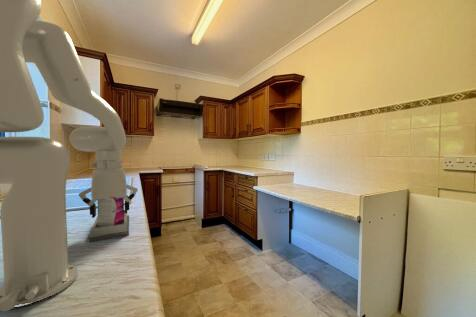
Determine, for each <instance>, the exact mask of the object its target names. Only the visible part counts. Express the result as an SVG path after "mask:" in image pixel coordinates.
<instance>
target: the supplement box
mask: <svg viewBox="0 0 476 317" xmlns="http://www.w3.org/2000/svg"><path fill="white" fill-rule="evenodd" d="M124 210H125V200H124V199H123V198H115V197H108V198H107V199H105V200H97V216H98V227H104V226H110V225H117V224H124Z"/></svg>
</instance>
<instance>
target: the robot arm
mask: <svg viewBox="0 0 476 317" xmlns="http://www.w3.org/2000/svg"><path fill="white" fill-rule="evenodd" d="M41 11H42V0H0V133H23V132H24V133H25V132H31V131H33V130H37V129H38V128H39V127H41V126H42V124H43V122H44V119H45V118H44V117H45V115H44V110H43V107H42V104H41V101H40V98H39V95H38V93H37V90H36V87H35V84H34V81H33V80H32V76H31V74H30V71H29V69H28V66H27V63H32V64H35V66H36V68H37V69H38V71H39V74H40V75H41V77H42V78H43V80H44V83H45V84H46V87H47V88H48V90H49V91H50V93H51V95H52V97H53V98H54V99H55V100H56V101H58V102H59V103H62V104H64V105H67V106H69V107H72V108H75V109H77V110H79V111H81V112H84V113H86V114H88V115H90V116H92V117H94V118H95V119H97V120H98V122H100V123H101V124H102V125H103V126H80V127H76V128H75V129H73V130H72V131H71V132H70V134H69V137H68V138H69V143H70V145H71V146H72V147H73V148H74V149H76V150H77V151H80V152H95V161H94V162H90V167H92V168H95V169H93V171H92V176H91V187H89V188H86V189H84V190H83V191H81V192H79V193H78V196H79V198H80V199H81V200H82V202H83V203H85V204H86V205H87V206H88V207H89V215H90V216H91V217H92V219H93V218H95V217H97V205H96V203H97V202H96V201H98V200H105V199H107V198H108V197H115V198H123V199H124V210H125V213H127V214H128V211H130V202H131V200H133V198H134V197H135V196H136V194H137V192H138V187H135V186H133V185H129V184H127V176H126V172H125V169H124V168H123V164H122V162H123V161H122V150H123V149H124V148H125V147H126V143H127V136H126V132H125V129H124V126H123V122H122V120H121V118H120V116H119V114H118V113H117V111H116V110H115V109H114V108H113V107H112V106H111V105H110V104H109V103H108V102H107V101H106V100H105V99H103V98H102V97H101V96H99V95H97V94H96V93H95V92H94V91H93V89H92V87H91V85H90V82H89V80H88V77H87V75H86V73H85V70H84V68H83V65H82V63H81V60H80V58H79V55H78V52H77V50H76V48H75V45H74V43H73V40H72V38H71V37H70V35H69V34H68V32H67V31H66V30H65V29H64V28H62V27H61V26H60V25H57V24H54V23H52V22H48V21H43V20H37V19H38V18H39V17H40V15H41ZM70 156H71V155H70V151H69V149H68V148H67V147H66V146H65V145H64V144H63V143H62V142H60V141H58V140H56V139H52V138H49V137H42V136H0V185H2V184H5V185H6V184H10V185H11V187H10V189H9V191H7V194H6V195H5V197H4V198H3V200H2V202H1V205H0V228H1V245H2V246H1V248H2V263H3V279H4V280H3V281H4V284H3V285H2V286H1V287H0V311H1V312H7V311H10V310H12V309H14V308H13V307H14V306H15V305H19V304H25V303H31V302H35V301H38V300H42V299H44V298H46V299H48V298H47V297H49V296H51V297H53V296H55V295H57V294H58V293H61V291H64V290H65V289H66V288H68V287H69V286H70V285H71V284H72V283H74V281H75V280H76V279H77V276H78V268H77V267H76V266H75V265H73V264H69V253H68V252H69V251H68V246H69V245H68V228H67V227H68V226H67V225H68V224H67V204H66V188H67V180H68V179H67V178H68V174H69V169H70V165H71V157H70ZM127 190H130V191H132V192H131V194H129V195H127V193H128V192H127ZM90 193H91V199H90V198H89V197H87V194H90ZM56 293H57V294H56ZM54 294H55V295H54ZM52 295H53V296H52ZM49 298H50V297H49ZM44 300H45V299H44ZM42 301H43V300H42Z"/></svg>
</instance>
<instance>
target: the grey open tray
mask: <svg viewBox="0 0 476 317" xmlns="http://www.w3.org/2000/svg"><path fill="white" fill-rule="evenodd" d="M129 235H130V215H129V214H128V212H127V213H125V209H124V224H117V225H110V226H104V227H98V215H96V219H95V220H94V223H93V225H92V227H91V229H90V234H89V237H88V243H92V242H97V241H103V240H104V241H105V240H108V239H114V238H115V239H116V238H121V237H124V236H125V237H126V236H129Z"/></svg>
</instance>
